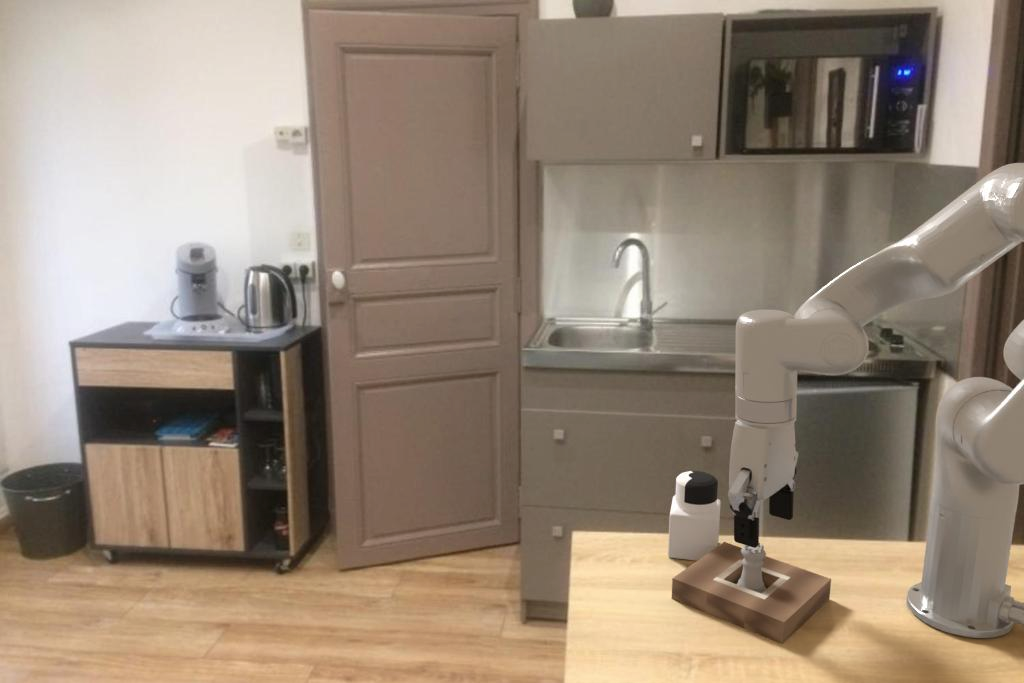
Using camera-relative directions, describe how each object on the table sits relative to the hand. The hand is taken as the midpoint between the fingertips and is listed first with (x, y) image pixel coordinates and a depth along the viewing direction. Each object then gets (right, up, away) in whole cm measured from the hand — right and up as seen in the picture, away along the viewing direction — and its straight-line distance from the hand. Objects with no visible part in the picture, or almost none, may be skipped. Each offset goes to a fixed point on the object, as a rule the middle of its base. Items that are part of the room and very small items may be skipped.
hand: (764, 530), depth 117 cm
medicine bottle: (-6, -7, +16) cm, 19 cm away
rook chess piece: (-1, -10, +2) cm, 10 cm away
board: (-1, -10, +3) cm, 10 cm away
